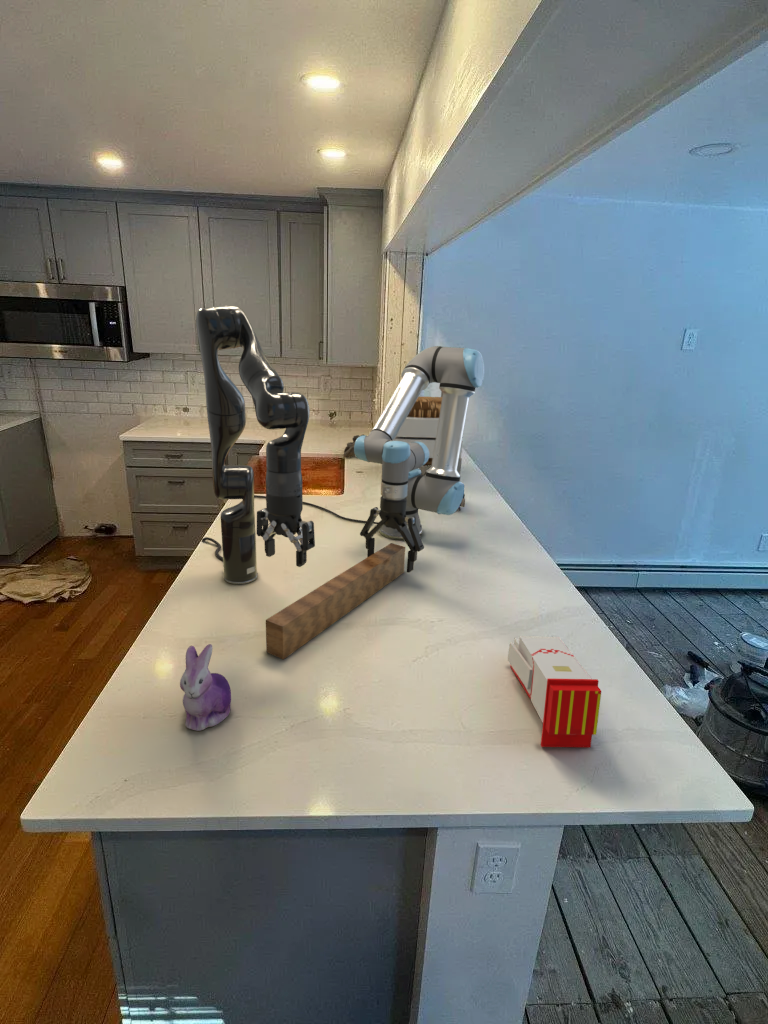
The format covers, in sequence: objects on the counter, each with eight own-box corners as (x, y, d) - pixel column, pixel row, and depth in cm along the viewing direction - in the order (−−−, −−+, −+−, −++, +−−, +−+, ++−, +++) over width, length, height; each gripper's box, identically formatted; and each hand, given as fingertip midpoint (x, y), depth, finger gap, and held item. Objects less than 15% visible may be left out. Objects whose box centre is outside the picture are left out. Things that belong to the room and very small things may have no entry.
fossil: (343, 440, 315) (365, 425, 310) (354, 454, 317) (375, 439, 312) (337, 454, 295) (359, 438, 290) (348, 468, 298) (371, 453, 293)
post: (389, 568, 173) (391, 542, 170) (403, 572, 171) (405, 546, 168) (266, 652, 129) (265, 619, 126) (283, 659, 126) (282, 626, 124)
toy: (555, 619, 129) (611, 687, 100) (550, 674, 132) (602, 754, 102) (502, 618, 128) (542, 685, 99) (498, 673, 131) (536, 754, 102)
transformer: (382, 463, 289) (386, 382, 275) (445, 464, 293) (451, 384, 279) (390, 482, 257) (394, 392, 243) (460, 483, 261) (468, 394, 247)
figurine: (187, 740, 102) (180, 669, 97) (178, 706, 110) (171, 639, 105) (239, 725, 106) (236, 656, 101) (227, 693, 115) (223, 628, 109)
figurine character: (465, 515, 224) (460, 499, 237) (467, 498, 221) (462, 483, 234) (448, 515, 224) (444, 499, 237) (450, 498, 220) (445, 482, 234)
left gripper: (246, 487, 118) (249, 558, 124) (299, 501, 112) (300, 575, 117) (270, 479, 124) (272, 547, 130) (322, 491, 118) (322, 562, 123)
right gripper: (349, 491, 163) (347, 558, 170) (426, 509, 151) (421, 580, 158) (364, 485, 169) (361, 550, 176) (439, 502, 157) (433, 571, 164)
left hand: (285, 560), depth 124 cm, fingers open, 8 cm apart
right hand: (389, 565), depth 167 cm, fingers open, 13 cm apart
